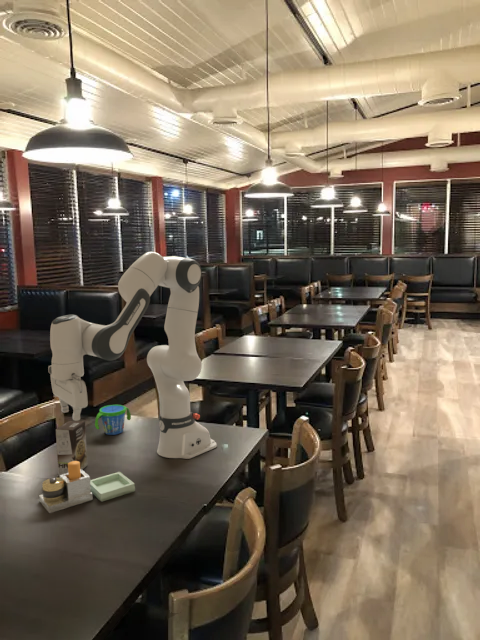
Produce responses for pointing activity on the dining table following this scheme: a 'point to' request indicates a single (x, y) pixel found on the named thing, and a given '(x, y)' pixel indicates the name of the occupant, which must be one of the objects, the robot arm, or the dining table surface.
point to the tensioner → (65, 492)
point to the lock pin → (74, 470)
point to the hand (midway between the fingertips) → (70, 415)
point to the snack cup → (112, 418)
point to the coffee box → (71, 445)
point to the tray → (111, 486)
